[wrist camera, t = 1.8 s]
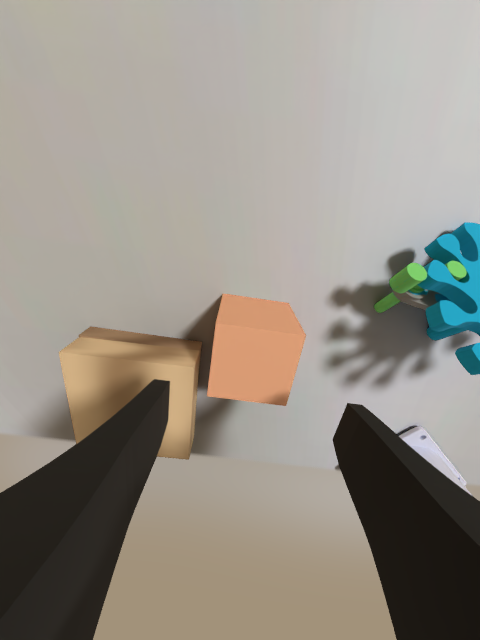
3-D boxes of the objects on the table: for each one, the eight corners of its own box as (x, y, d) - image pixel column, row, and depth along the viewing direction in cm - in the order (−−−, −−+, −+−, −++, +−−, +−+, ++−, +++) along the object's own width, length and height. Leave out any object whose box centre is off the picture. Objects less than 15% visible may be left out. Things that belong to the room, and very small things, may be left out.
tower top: (199, 350, 16) (194, 367, 15) (194, 436, 20) (188, 459, 18) (79, 336, 16) (58, 352, 14) (93, 426, 19) (77, 448, 17)
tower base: (203, 337, 18) (199, 351, 17) (195, 417, 22) (190, 436, 20) (95, 323, 18) (78, 335, 16) (102, 406, 21) (89, 425, 19)
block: (288, 302, 17) (306, 335, 12) (274, 358, 18) (286, 405, 14) (222, 293, 16) (215, 322, 12) (215, 350, 18) (206, 396, 14)
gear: (610, 249, 14) (681, 440, 10) (495, 298, 19) (510, 432, 15) (420, 184, 14) (413, 346, 10) (360, 251, 19) (340, 372, 15)
